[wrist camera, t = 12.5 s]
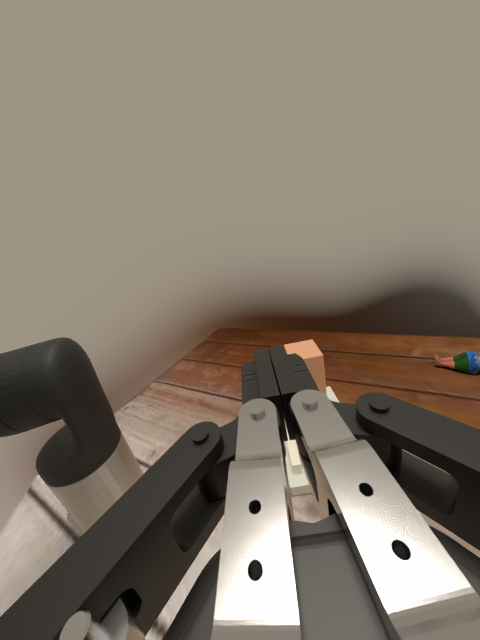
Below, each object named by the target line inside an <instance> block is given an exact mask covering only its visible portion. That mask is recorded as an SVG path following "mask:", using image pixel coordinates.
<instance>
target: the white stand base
mask: <svg viewBox="0 0 480 640" xmlns="http://www.w3.org/2000/svg"><path fill="white" fill-rule="evenodd" d="M326 392H327V397H328V398H329V400H331V401H334V402H338V403H339V401H338V399H337V398H336V396H335V394H334V393H333V391H332V389H331V388H330V386H329V387H326ZM284 421H285V420H284ZM285 426H286V424H285ZM286 432H287V437H288V441H284V444H285V449H286V464H287V471H288V479H289V485H290V490H291V495H292V496H295V495H302V494H308V493H312V491H311V489H310V486H309V483H308V480H307V478H306V475H305V472H304V469H303V467H302V464H301V461H300V458H299V453H298V447H297V443H296V440H290V439H289V435H288V431H287V428H286Z"/></svg>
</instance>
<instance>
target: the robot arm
mask: <svg viewBox="0 0 480 640" xmlns="http://www.w3.org/2000/svg"><path fill="white" fill-rule="evenodd" d="M269 354H270V356H269ZM254 358H255V361H252V362H247V363H245V364H244V366H243V367H242V369H241V376H242V398H243V406H242V407H241V409H240V411H239V416H238V417H237V418H236V419H235V420H234V421H232V422H231V423H229V424H227V425H224V426H222V427H220V428H219V427H218V425H217V424H215V423H213V422H201V423H198V424H196V425H194V426H192V427H191V428H190V429H189V430H187V431H186V432H185V433H184V434H183V435H182V436H181V437H180V438H179V439H178V440H177V441H176V442H175V443H174V444H173V445H172V446H171V447H170V448H169V449H168V450H167V451H166V452H165V453H164V454H163V455H162V456H161V457H160V458H159V459H158V460H157V461H156V462H155V463H154V464H153V465H152V466H151V467H150V468H149V469H148V470H147V471H146V472H145V473H144V474H143V472H142V470H141V468H140V466H139V464H138V462H137V461H136V459H135V457H134V455H133V453H132V451H131V449H130V447H129V445H128V444H127V442H126V440H125V438H124V436H123V434H122V432H121V431H120V429H119V427H118V425H117V423H116V420H115V417H114V414H113V411H112V408H111V406H110V404H109V401H108V399H107V397H106V395H105V393H104V391H103V389H102V386H101V384H100V382H99V380H98V377H97V375H96V372H95V370H94V368H93V366H92V363H91V361H90V359H89V358H88V356H87V354H86V352H85V351H84V350H83V349H82V347H81V346H80V345H79V344H78V343H77V342H75V341H73V340H72V339H69V338H56V339H52V340H48V341H45V342H41V343H37V344H34V345H30V346H27V347H23V348H20V349H16V350H13V351H9V352H6V353H2V354H0V437H5V436H10V435H15V434H19V433H22V432H25V431H28V430H31V429H34V428H37V427H40V426H43V425H45V424H48V423H51V422H54V421H57V420H60V419H63V420H64V422H65V424H66V425H65V426H64V427H62V428H61V429H60V430H59V431H57V432H56V433H55V434H54V435H53V436H52V437H51V438H50V439H49V440H48V441H47V443H46V444H45V445H44V446H43V448H42V449H41V451H40V452H39V454H38V457H37V460H36V469H37V472H38V474H39V475H40V477H41V478H42V479H43V480H44V482H45V483H46V484H47V486H48V487H49V488H50V489H51V491H52V492H53V493H54V495H55V496H56V497H57V498H58V500H59V501H60V502H61V503H62V505H63V506H64V507H65V509H66V510H67V511H68V512H69V513H68V516H67V519H68V521H69V522H70V523H71V524H72V526H73V527H74V528H75V529H76V531H77V532H78V533H79V535H80V536H81V537H80V538H79V539H78V540H77V541H76V542H75V543H74V544H73V545H72V546H71V547H70V548H69V549H68V550H67V551H66V552H65V553H64V554H63V555H62V556H61V557H60V558H59V559H58V560H57V561H56V562H55V563H54V564H53V565H52V566H51V567H50V568H49V569H48V570H47V571H46V572H45V573H44V574H43V575H42V576H41V577H40V578H39V579H38V580H37V581H36V582H35V583H34V584H33V585H32V586H31V587H30V588H29V589H28V590H27V591H26V592H25V593H24V594H23V595H22V596H21V597H20V598H19V599H18V600H17V601H16V602H15V603H14V604H13V605H12V606H11V607H10V608H9V609H8V610H7V611H6V612H5V613H4V614H3V615H2V616H1V617H0V640H145V636H146V634H147V633H148V631H149V630H150V628H151V627H152V625H153V623H154V622H155V620H156V619H157V617H158V616H159V614H160V613H161V611H162V609H163V608H164V606H165V605H166V603H167V602H168V600H169V599H170V597H171V595H172V594H173V592H174V591H175V589H176V588H177V586H178V585H179V583H180V581H181V580H182V578H183V577H184V575H185V574H186V572H187V571H188V569H189V567H190V566H191V564H192V563H193V561H194V560H195V558H196V557H197V555H198V553H199V552H200V550H201V549H202V547H203V546H204V544H205V543H206V541H207V539H208V538H209V536H210V535H211V533H212V532H213V530H214V529H215V527H216V526H217V524H218V522H219V521H220V519H221V518H222V516H223V515H224V522H223V532H222V542H221V549H220V550H219V551H218V552H217V553H216V554H215V555H214V556H213V557H212V558H211V559H210V560H209V562H208V563H207V565H206V566H205V567H204V569H203V570H202V572H201V573H200V575H199V577H198V578H197V580H196V582H195V584H194V585H193V587H192V589H191V591H190V592H189V594H188V596H187V598H186V599H185V601H184V603H183V605H182V606H181V608H180V610H179V612H178V613H177V615H176V617H175V619H174V620H173V622H172V624H171V626H170V627H169V629H168V631H167V633H166V634H165V636H164V638H163V640H480V558H479V557H477V556H476V555H475V554H473V553H472V552H470V551H469V550H467V549H466V548H465V547H463V546H462V545H460V544H459V543H458V542H456V541H455V540H453V539H452V538H450V537H449V536H447V535H445V534H444V533H442V532H440V531H439V530H437V529H435V528H433V527H431V526H429V525H427V523H426V522H425V521H424V519H423V518H422V516H421V515H420V514H419V512H418V511H417V510H419V511H420V512H422V513H423V514H425V515H426V516H428V517H429V518H431V519H432V520H434V521H435V522H437V523H439V524H440V525H442V526H443V527H445V528H446V529H448V530H449V531H451V532H452V533H454V534H455V535H457V536H458V537H460V538H461V539H463V540H464V541H466V542H467V543H469V544H471V545H472V546H474V547H475V548H477V549H478V550H480V430H479V429H477V428H474V427H471V426H469V425H466V424H463V423H461V422H458V421H455V420H453V419H450V418H447V417H445V416H442V415H439V414H437V413H434V412H432V411H429V410H426V409H424V408H421V407H418V406H416V405H413V404H410V403H408V402H405V401H402V400H400V399H397V398H394V397H392V396H389V395H386V394H382V393H366V394H363V395H361V396H360V397H359V398H358V399H357V400H356V404H348V403H338V402H334V401H331V400H329V398H328V397H327V396H326V395H325V394H324V393H322V392H320V391H319V389H318V387H317V385H316V383H315V381H314V379H313V377H312V375H311V373H310V371H309V369H308V368H307V366H306V364H305V362H304V360H303V358H302V357H301V356H299V355H298V354H296V353H293V354H288V355H286V352H285V350H284V347H283V345H282V346H277V347H272V348H269V352H268V349H262V350H257V351H254ZM270 359H271V360H270ZM284 420H285V421H284ZM285 424H286V426H285ZM286 428H287V431H288V435H289V439H290V440H296V443H297V447H298V453H299V458H300V461H301V464H302V467H303V469H304V472H305V475H306V478H307V480H308V483H309V486H310V489H311V491H312V494H313V497H314V499H315V502H316V505H317V508H318V511H319V514H320V518H321V520H320V521H318V522H316V523H306V522H300V521H294V515H293V508H292V501H291V493H290V486H289V479H288V471H287V464H286V449H285V444H284V441H288V437H287V432H286ZM402 449H404V450H406V451H408V452H410V453H412V454H414V455H416V456H418V457H419V458H421V459H423V460H425V461H427V462H429V463H431V464H433V465H435V466H437V467H439V468H441V469H443V470H445V471H446V472H448V473H449V474H450V475H449V474H447V473H445V472H443V471H441V470H440V469H438V468H436V467H434V466H432V465H430V464H428V463H426V462H424V461H422V460H420V459H418V458H416V457H414V456H412V455H410V454H409V453H407V452H405V451H403V450H402Z"/></svg>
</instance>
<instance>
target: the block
mask: <svg viewBox="0 0 480 640" xmlns="http://www.w3.org/2000/svg"><path fill="white" fill-rule="evenodd" d="M284 349H285V352H286V355H288V354H293V353H296V354H298V355H299V356H301V357H302V358H303V360H304V362H305V364H306V366H307V368H308V369H309V371H310V373H311V375H312V377H313V379H314V381H315V383H316V385H317V387H318V389H319V391H320V392H322V393H324V394H325V395H326V396H327V392H326V381H325V370H324V358H323V354H322V353H321V351H320V350H319V348H318V347H317V346H316V344H315V343H314V341H313V340H307V341H302V342H297V343H291V344H286V345H284Z"/></svg>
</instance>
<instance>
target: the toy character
mask: <svg viewBox="0 0 480 640" xmlns="http://www.w3.org/2000/svg"><path fill="white" fill-rule="evenodd" d="M434 362H435V366H441V365H442V366H445V367H449V368H452V369H456V370H459V371H462V372H465V373H469V374H476V373H478V372H480V353H477V352H464V353H461V354H459V355H457V356H454V357H449V358H439V356H438V354H435V359H434Z"/></svg>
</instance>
